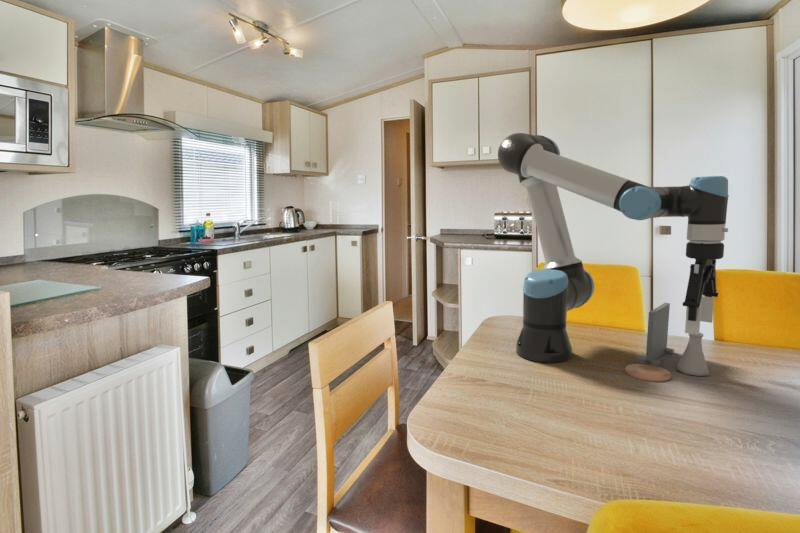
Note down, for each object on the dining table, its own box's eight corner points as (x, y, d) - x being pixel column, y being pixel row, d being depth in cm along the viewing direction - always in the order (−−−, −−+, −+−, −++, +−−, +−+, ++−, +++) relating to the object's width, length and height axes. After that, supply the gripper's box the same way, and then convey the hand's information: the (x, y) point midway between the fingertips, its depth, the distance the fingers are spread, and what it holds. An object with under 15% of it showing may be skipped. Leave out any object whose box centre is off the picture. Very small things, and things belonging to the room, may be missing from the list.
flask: (715, 377, 108) (719, 338, 106) (682, 376, 109) (685, 337, 108) (701, 366, 115) (705, 329, 113) (671, 365, 116) (673, 328, 115)
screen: (637, 361, 119) (641, 310, 117) (654, 348, 129) (657, 301, 127) (658, 366, 116) (662, 314, 113) (673, 352, 125) (677, 304, 123)
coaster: (619, 373, 111) (619, 371, 111) (633, 363, 118) (633, 361, 118) (663, 385, 104) (664, 382, 104) (676, 373, 111) (676, 370, 111)
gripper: (712, 247, 95) (705, 342, 98) (734, 238, 113) (727, 319, 116) (672, 245, 101) (667, 335, 104) (699, 237, 118) (694, 314, 121)
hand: (699, 327), depth 110 cm, fingers open, 13 cm apart
